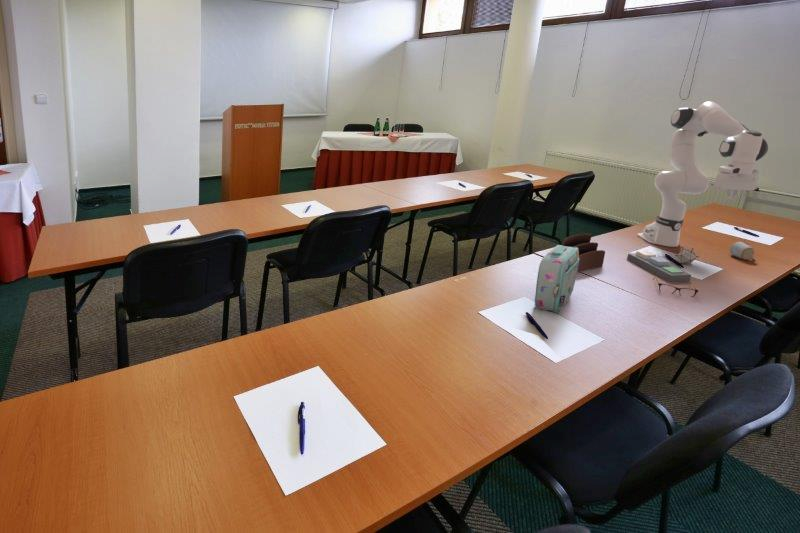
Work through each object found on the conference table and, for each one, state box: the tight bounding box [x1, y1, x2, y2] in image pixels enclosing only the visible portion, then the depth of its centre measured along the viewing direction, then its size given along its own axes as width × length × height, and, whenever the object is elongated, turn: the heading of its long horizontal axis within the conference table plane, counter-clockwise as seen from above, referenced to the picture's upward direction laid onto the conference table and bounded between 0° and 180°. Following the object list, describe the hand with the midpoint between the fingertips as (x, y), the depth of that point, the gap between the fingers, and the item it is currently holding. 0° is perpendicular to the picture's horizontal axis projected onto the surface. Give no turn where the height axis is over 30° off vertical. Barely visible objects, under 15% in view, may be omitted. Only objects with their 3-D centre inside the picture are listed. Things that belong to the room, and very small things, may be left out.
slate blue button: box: [648, 256, 671, 266], centre depth 214 cm, size 6×6×3 cm
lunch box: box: [534, 244, 579, 314], centre depth 169 cm, size 27×10×21 cm, turn 150°
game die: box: [674, 246, 699, 266], centre depth 224 cm, size 9×8×10 cm
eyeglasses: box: [652, 275, 699, 298], centre depth 193 cm, size 14×14×4 cm
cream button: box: [635, 250, 657, 259], centre depth 221 cm, size 6×6×3 cm
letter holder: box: [560, 233, 606, 273], centre depth 210 cm, size 10×20×14 cm, turn 123°
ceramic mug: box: [729, 241, 756, 261], centre depth 239 cm, size 11×8×8 cm
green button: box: [662, 267, 684, 273], centre depth 206 cm, size 6×6×3 cm
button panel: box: [626, 252, 692, 283], centre depth 214 cm, size 28×11×3 cm, turn 13°
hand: (730, 199), depth 210 cm, fingers closed
